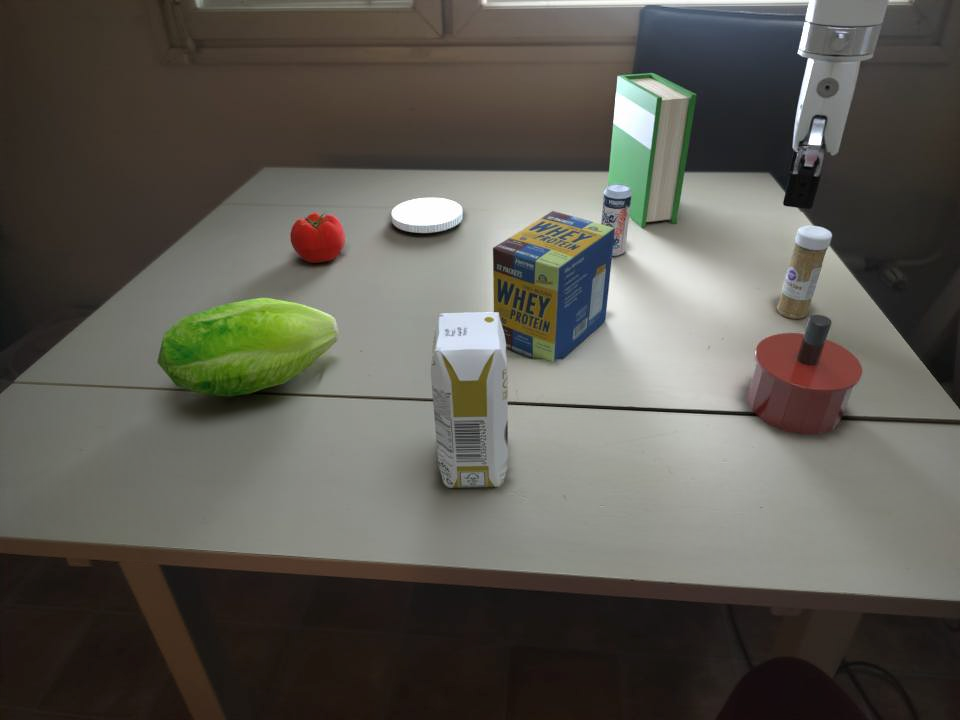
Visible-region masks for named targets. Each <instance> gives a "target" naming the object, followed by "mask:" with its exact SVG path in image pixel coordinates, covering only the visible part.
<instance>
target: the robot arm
mask: <svg viewBox="0 0 960 720" xmlns="http://www.w3.org/2000/svg"><path fill="white" fill-rule="evenodd" d="M889 2H890V0H809V1H808V4H807V5H808V6H807V9H806V14H805V20H804V23H803V27H802V31H801V35H800V36H801V37H800V40H799V45H798V49H797V54H798V56H800V57H803V58H806V59H807V60H806V61H807V62H806V64H805V65H806V66H805V69H804V75H803V79H802V83H801V88H800V92H799V96H798V102H797V108H796V112H795V113H796V114H795V121H794V127H793V137H792V149H793V154H792V157H791V162H790V166H789V170H788V173H787V177H788V181H787V185H786V188H785V193H784V197H783V201H782V205H783V206H784V207H789V208H798V209H804V210H811V209H812V208H813V206H814V202H815V200H816V196H817V192H818V188H819V184H820V180H821V177H822V174H821V169H822V165H823V160H824V156H825V153H826V152H827V153H830V155H831V156H835V155H837V154H838V153H839V150H840V147H841V144H842V143H841V142H842V139H843V134H844V131H845V127H846V124H847V120H848V116H849V115H848V114H849V112H850V108H851V105H852V101H853V97H854V93H855V89H856V87H857V86H856V85H857V81H858V76H859V73H860V67H861V62H862V61H863V62H864V61H867V60H871V59H872V58H874V53H875V50H876V47H877V43H878V40H879V37H880V33H881V29H882V26H883V22H884V18H885V15H886V12H887V8H888V5H889Z"/></svg>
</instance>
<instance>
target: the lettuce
mask: <svg viewBox="0 0 960 720" xmlns="http://www.w3.org/2000/svg"><path fill="white" fill-rule="evenodd" d="M339 338H340V333H339V328H338V323H337V320H336V318H335V317H333V316H332V315H331V314H330V313H327V312H324V311H322V310H320V309H317V308H314V307H311V306H308V305H305V304H300V303H298V302H292V301H286V300H282V299H281V300H280V299H274V298H269V297H258V298H251V299H245V300H240V301H239V300H238V301H235V302H229V303H224V304H221V305H217V306H214V307H210V308H208V309H205V310H202V311H199V312H197V313H192V314H188V315H184V316H183V317H182V318H180V319H179V320H178V321H177V322H176V323H175V324H173V326H172V327H170V328H169V329H167V331H165V332H164V333H163V336H162V341H161V345H160V349H159V353H158V357H157V361H156V363H157V364H158V365H159V367H160V368H161V370H163V372H164V373H165V374H166V375H167V376H168V378H169V379H170V380H171V381H172V383H174V385H175V386H176V387H180V388H181V389H185V390H188V391H191V392H194V393H197V394H200V395H202V396H216V397H229V398H233V397H236V396H243V395H250V394H254V393H256V392H260V391H261V390H264V389H267V388H268V389H269V388H271V387H275V386H280V385H284V384H286V383H287V382H288V381H290V380H292V379H294V378H295V377H298V376H299V375H300V374H301V373H303V372H304V371H305V370H306V369H308V368H309V367H310V366H311V365H312V364H313V363H315V361H316V360H317V359H318V358H320V357H321V356H322V355H323V354H325V353H326V352H327V351H328V350H329V349H330V348H332V346H333V345H334V344H335V343H337V341H338V340H339Z"/></svg>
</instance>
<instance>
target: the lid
mask: <svg viewBox="0 0 960 720" xmlns="http://www.w3.org/2000/svg"><path fill="white" fill-rule="evenodd" d="M832 323H833V322H832V319H831V318H829V317H828V316H827V315H822V314H812V315H810V316H809V317H808V319H807V322H806V324H805V325H806V326H805V328H804V331H803V333H800V332H799V333H797V332H784V333H777V334H772V335H769V336H767V337H765V338H763V339H762V340H760V341H759V343H758V344H757V345H756V347H755V350H754V360H755V362H756V363H757V364H758V366H759V367H760V368H761V369H762V370H763V371H764V372H765V373H766V374H767V375H769V376H770V377H771V378H773V379H775V380H776V381H778V382H780V383H782V384H785V385H787V386H789V387H792V388H795V389H799V390H803V391H808V392H815V393H836V392H842V391H845V390H848V389H850V388H852V387H853V388H854V387H856V385H858V383H859V382H860V380H861V379H862V376H863V367H862V364H861V362H860V361H859V359H858V358H857V357H856V356H855V355H854V354H853V353H852V352H851V351H849V349H847V348H846V347H844V346H842V345H840V344H838V343H837V342H834V341H832V340H829V339H828V336H829V333H830V329H831V327H832ZM853 388H852V389H853Z"/></svg>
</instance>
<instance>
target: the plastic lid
mask: <svg viewBox="0 0 960 720" xmlns="http://www.w3.org/2000/svg"><path fill="white" fill-rule="evenodd" d="M390 215H391V223H392V224H393V226H394V227H395V228H397V229H399V230H401V231H404V232H409V233H418V234H427V233H428V234H430V233H431V234H432V233H438V232H443V231H447V230H448V229H449V230H450V229H453V228H454V227H456V226H457V225H459V224H460V223H461V222H462V220H463V208H462V206H461V205H460V204H459V203H458V202H456V201H454V200H451V199H447V198H442V197H420V198H413V199H410V200H406V201H403V202H401V203H399V204H397V205H395V206H394V207H393V208H392V210H391V214H390Z"/></svg>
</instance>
